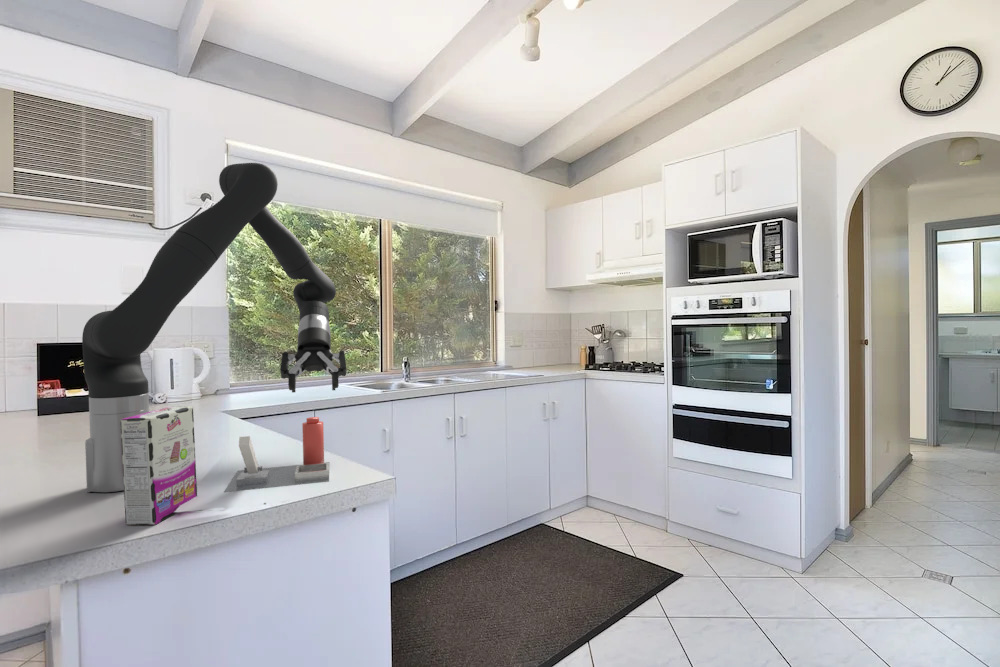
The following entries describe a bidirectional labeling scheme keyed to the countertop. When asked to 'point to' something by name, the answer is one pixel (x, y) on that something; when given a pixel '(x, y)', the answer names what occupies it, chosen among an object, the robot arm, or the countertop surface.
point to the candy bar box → (158, 463)
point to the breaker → (249, 455)
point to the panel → (280, 477)
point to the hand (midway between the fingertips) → (313, 389)
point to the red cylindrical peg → (313, 441)
